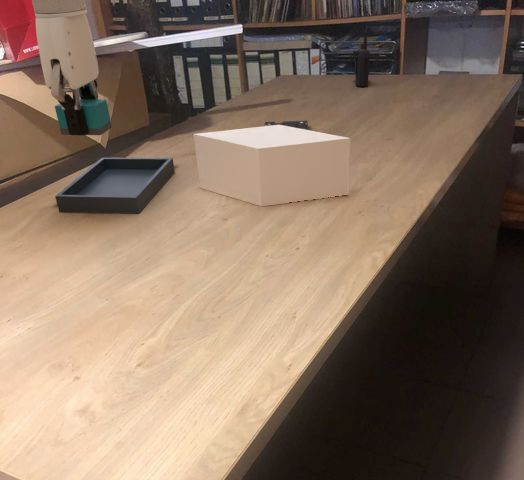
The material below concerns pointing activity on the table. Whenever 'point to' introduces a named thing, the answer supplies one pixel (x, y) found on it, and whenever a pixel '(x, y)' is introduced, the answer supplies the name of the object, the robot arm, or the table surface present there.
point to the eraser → (88, 116)
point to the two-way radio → (362, 63)
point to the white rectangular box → (273, 164)
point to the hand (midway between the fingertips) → (86, 128)
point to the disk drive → (290, 124)
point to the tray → (116, 185)
